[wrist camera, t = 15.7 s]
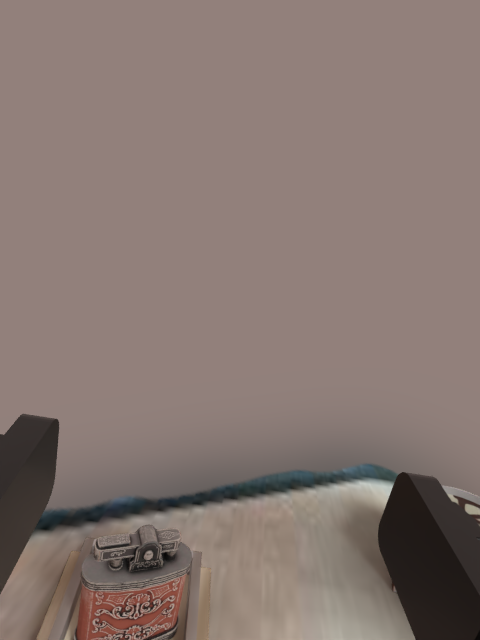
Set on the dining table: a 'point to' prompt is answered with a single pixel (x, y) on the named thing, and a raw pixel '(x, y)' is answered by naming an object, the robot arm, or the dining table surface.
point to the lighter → (133, 586)
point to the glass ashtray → (66, 600)
